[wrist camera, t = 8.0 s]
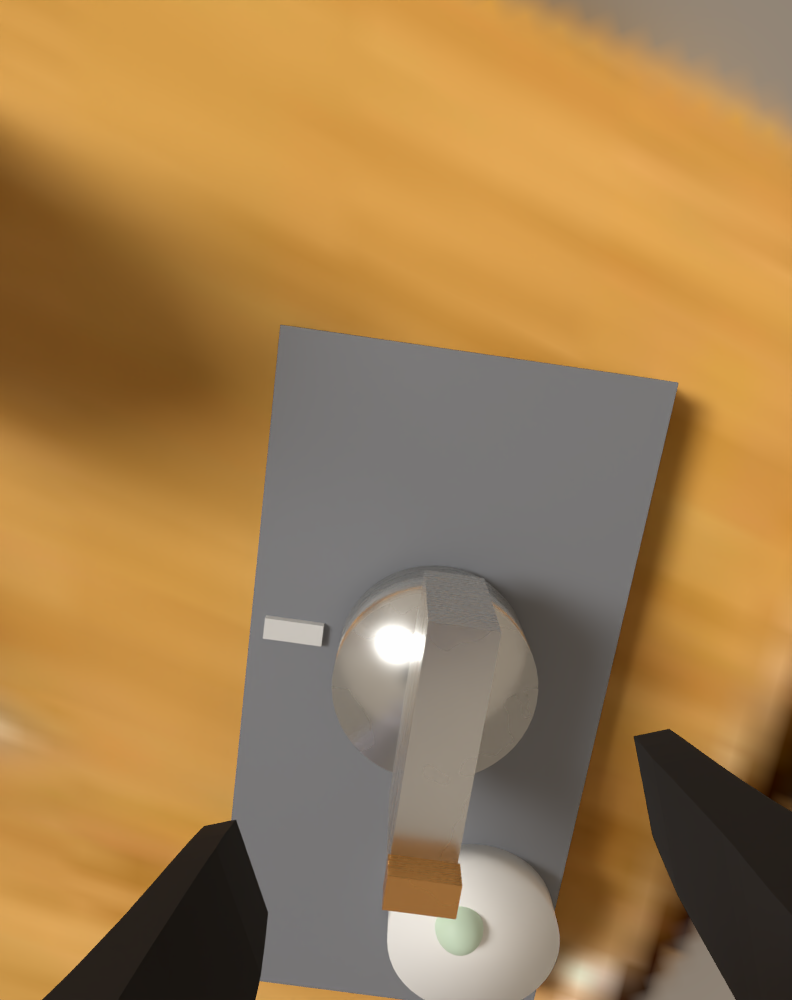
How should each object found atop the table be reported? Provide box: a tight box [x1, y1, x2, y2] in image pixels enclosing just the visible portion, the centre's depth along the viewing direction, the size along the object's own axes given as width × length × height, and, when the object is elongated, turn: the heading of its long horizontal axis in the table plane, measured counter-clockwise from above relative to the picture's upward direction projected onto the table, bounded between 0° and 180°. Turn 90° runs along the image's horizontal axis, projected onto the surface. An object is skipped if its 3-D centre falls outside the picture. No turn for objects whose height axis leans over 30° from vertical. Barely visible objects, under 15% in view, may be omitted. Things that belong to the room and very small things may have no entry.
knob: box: [332, 565, 538, 919], centre depth 16 cm, size 6×5×6 cm
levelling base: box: [231, 325, 678, 1000], centre depth 19 cm, size 20×10×3 cm, turn 172°
